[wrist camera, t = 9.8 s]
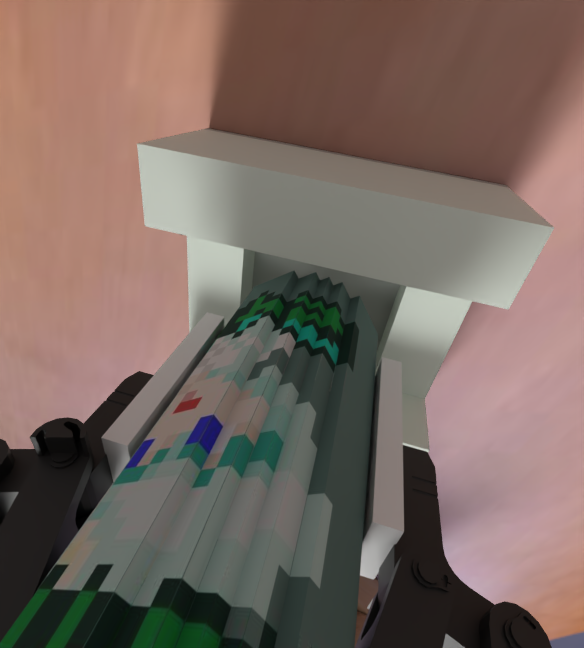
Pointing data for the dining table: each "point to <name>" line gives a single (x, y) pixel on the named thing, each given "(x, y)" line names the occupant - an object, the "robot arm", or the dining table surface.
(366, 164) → the socket block
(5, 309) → the dining table surface
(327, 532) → the can
